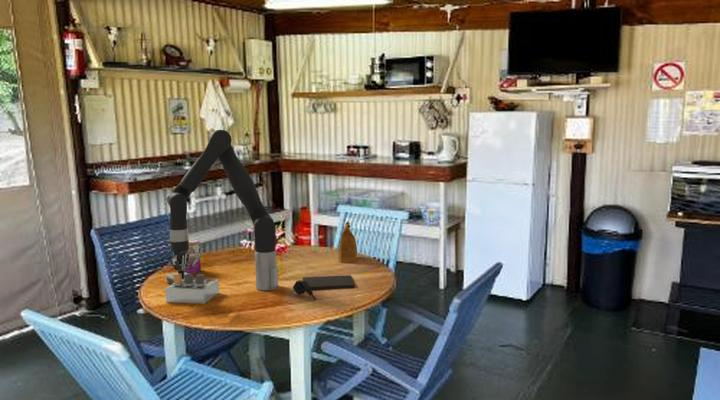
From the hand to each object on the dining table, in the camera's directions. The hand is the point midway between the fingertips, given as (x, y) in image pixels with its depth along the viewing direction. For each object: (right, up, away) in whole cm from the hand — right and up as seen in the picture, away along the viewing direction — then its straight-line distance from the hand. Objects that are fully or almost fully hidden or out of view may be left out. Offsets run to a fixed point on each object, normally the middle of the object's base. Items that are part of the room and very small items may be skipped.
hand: (181, 278), depth 234 cm
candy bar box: (-8, -3, +38) cm, 39 cm away
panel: (+5, -8, 0) cm, 9 cm away
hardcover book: (+62, -6, +17) cm, 65 cm away
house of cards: (-23, -2, +51) cm, 56 cm away
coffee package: (+70, 0, +55) cm, 89 cm away
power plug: (+57, -10, -4) cm, 58 cm away
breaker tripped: (0, -2, -3) cm, 4 cm away
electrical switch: (-5, -6, +19) cm, 21 cm away
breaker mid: (+5, -2, -4) cm, 6 cm away
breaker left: (+9, -2, -5) cm, 11 cm away
